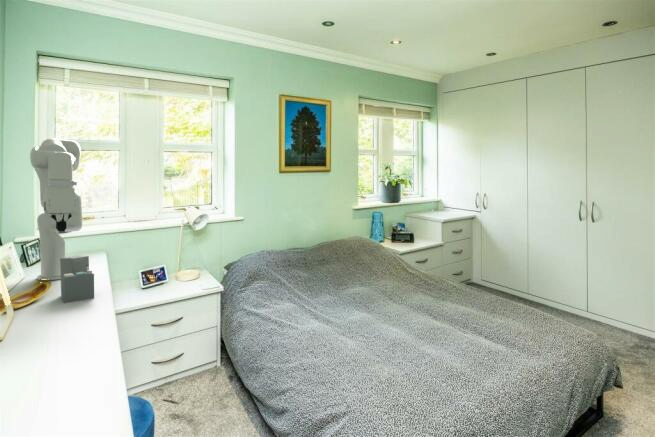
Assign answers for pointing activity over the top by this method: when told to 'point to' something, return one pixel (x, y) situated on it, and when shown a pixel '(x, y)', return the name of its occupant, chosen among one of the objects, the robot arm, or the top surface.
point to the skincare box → (74, 264)
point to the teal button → (79, 273)
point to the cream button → (68, 275)
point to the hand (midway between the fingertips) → (61, 231)
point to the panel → (77, 287)
